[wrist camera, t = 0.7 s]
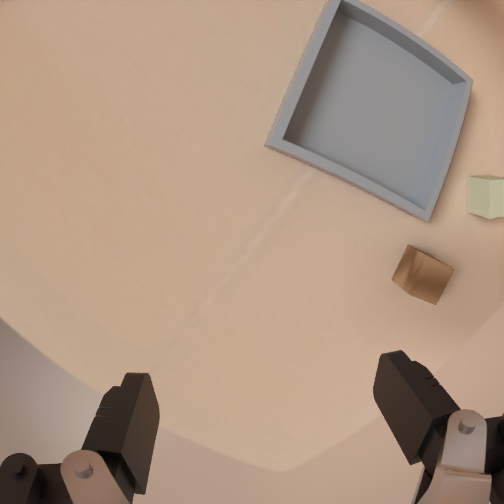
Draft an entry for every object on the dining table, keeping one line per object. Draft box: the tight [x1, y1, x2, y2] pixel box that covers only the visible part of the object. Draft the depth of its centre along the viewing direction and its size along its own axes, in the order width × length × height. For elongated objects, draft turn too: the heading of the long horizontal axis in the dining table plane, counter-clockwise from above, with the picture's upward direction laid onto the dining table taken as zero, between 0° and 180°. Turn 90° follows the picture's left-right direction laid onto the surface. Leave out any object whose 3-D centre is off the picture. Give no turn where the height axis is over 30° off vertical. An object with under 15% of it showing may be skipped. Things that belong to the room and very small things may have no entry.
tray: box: [264, 0, 473, 222], centre depth 30 cm, size 20×20×4 cm
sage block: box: [466, 175, 504, 219], centre depth 33 cm, size 5×5×5 cm
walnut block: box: [392, 245, 454, 305], centre depth 36 cm, size 5×5×5 cm
